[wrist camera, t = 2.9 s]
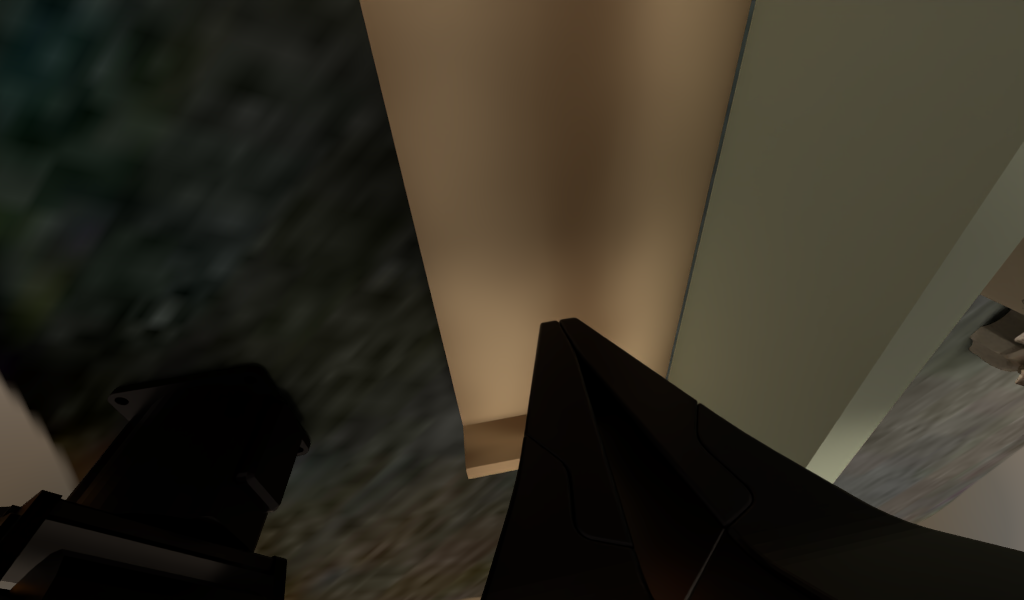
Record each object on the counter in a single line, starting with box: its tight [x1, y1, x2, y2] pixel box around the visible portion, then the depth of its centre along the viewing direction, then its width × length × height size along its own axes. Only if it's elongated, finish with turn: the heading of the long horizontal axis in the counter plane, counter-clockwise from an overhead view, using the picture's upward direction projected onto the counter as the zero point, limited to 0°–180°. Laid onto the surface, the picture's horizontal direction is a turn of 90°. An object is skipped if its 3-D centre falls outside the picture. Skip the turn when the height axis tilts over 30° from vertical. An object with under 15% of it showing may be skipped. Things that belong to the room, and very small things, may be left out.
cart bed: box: [360, 0, 752, 479], centre depth 13 cm, size 10×20×5 cm, turn 5°
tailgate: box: [668, 0, 1024, 484], centre depth 10 cm, size 2×18×7 cm, turn 4°
